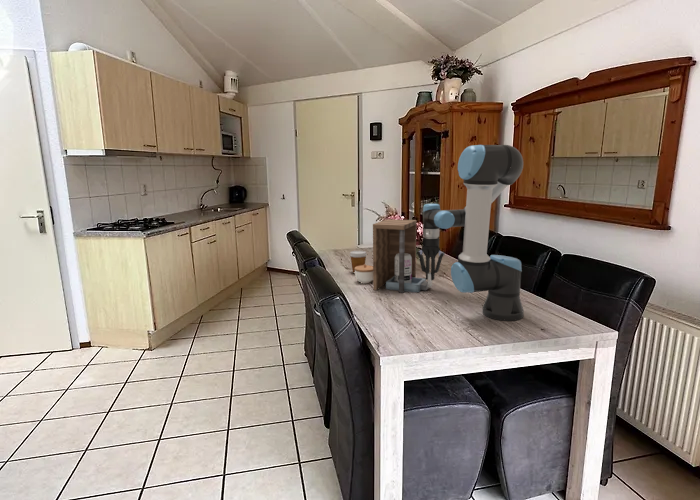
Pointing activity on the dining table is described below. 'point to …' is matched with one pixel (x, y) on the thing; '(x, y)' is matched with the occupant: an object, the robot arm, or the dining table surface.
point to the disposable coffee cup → (357, 258)
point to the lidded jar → (364, 273)
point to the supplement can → (406, 268)
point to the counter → (392, 250)
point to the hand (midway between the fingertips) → (429, 286)
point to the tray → (415, 285)
